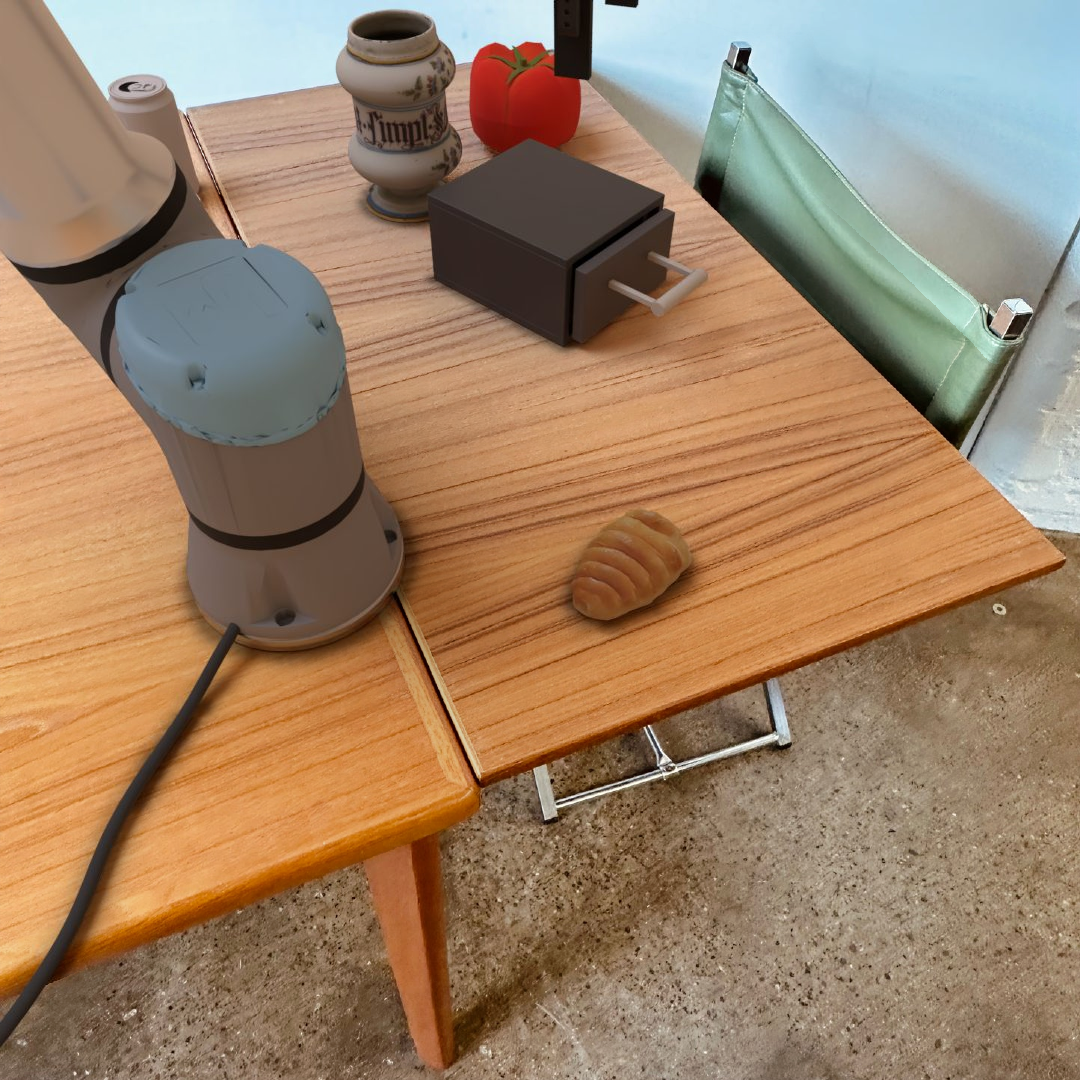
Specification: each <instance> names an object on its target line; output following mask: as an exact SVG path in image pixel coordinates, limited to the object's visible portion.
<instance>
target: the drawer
mask: <svg viewBox="0 0 1080 1080" xmlns="http://www.w3.org/2000/svg"><path fill="white" fill-rule="evenodd" d="M675 216H676V212H675V211H674V210H671V209H668V208H666V207H663V210H661V211H660V212H658V213H657V214H655V215H654V216H652V217H651V218H649V219H648V220H647V217H648V213H647V214H646V215H644V216H643V217H641V218H640V219H638V220H637V221H635V222H634V223H632V224H631V225H629V226H628V227H626V228H625V229H623V230H622V231H620V232H619V233H618V234H616V235H615V236H613V237H612V238H610V239H609V240H607V241H606V242H604V243H603V244H601V245H600V246H598V247H597V248H595V249H594V250H592V251H591V252H590V253H588V254H587V255H585V256H584V257H582V258H581V259H579V260H578V261H576V262H575V263H573V264H572V274H571V295H570V316H569V324H570V323H571V322H572V321H573V330H572V339H573V340H574V341H576V342H578V343H579V344H584V343H585V342H586V341H588V340H589V339H590V338H592V337H593V336H594V335H595V334H597V333H598V332H599V331H601V330H602V329H604V328H605V327H606V326H607V325H609V324H610V323H611V322H613V321H614V320H615V319H617V318H618V317H619V316H620V315H622V314H623V313H625V312H626V311H627V310H628V309H630V308H632V307H633V306H634V305H635V304H636V303H640V304H642V305H645V306H647V307H649V308H650V310H651V312H652V314H653V315H654V316H655V317H658V318H662V317H663V316H665V315H666V314H667V313H668V312H669V311H671V310H672V309H673V308H675V307H676V306H677V305H679V304H680V303H681V302H682V301H683V300H685V299H686V298H687V297H689V296H690V295H692V293H694V292H695V291H696V290H698V289H699V288H700V287H701V286H703V285H704V284H705V283H706V282H707V281H708V280H709V273H708V271H707V270H706V269H704V268H703V267H698V268H697V269H692V268H691V267H688V266H686V265H684V264H681V263H679V262H677V261H675V260H672V259H670V253H671V245H672V240H673V232H674V225H675V218H676V217H675ZM668 270H670V271H672V272H674V273H676V274H679V275H681V276H683V277H684V278H683V279H682V280H681V281H679V282H678V283H677V284H676V285H674V286H673V287H671V288H670V289H669V290H667V291H666V292H665V293H663V294H662V295H661V296H659V298H657V299H655V298H653V297H651V296H649V294H650V293H651V292H652V291H654V290H655V289H656V288H658V287H660V285H662V284H663V283H664V282H666V281H667V274H668Z"/></svg>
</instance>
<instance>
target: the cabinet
mask: <svg viewBox="0 0 1080 1080" xmlns="http://www.w3.org/2000/svg"><path fill="white" fill-rule="evenodd" d="M665 197H666V194H665V193H662V192H660V191H658V190H655V189H653V188H650V187H648V186H646V185H643V184H641V183H638V182H636V181H633V180H632V179H629V178H626V177H624V176H621V175H619V174H616V173H614V172H612V171H610V170H607V169H604V168H602V167H600V166H597V165H596V164H592V163H590V162H587V161H586V160H584V159H581V158H578V157H576V156H573V155H571V154H569V153H566V152H564V151H562V150H558V149H557V148H556V149H554V148H552V147H549V146H547V145H544V144H542V143H540V142H537V141H535V140H532V139H530V138H529V139H527V140H525V141H523V142H521V143H520V144H518V145H516V146H514V147H512V148H510V149H509V150H507V151H505V152H503V153H502V152H500V154H498V155H496V156H494V157H492V158H490V159H488V160H487V161H485V162H483V163H481V164H480V165H477V166H475V167H474V168H473V169H470V170H468V171H467V172H466V171H465V172H464V173H463V174H461V175H459V176H457V177H456V178H453V179H452V180H450V181H448V182H447V183H446V184H444V185H443V186H441V187H439V188H437V189H435V190H433V191H432V192H430V193H428V194H427V199H428V212H429V220H428V224H429V236H430V245H431V246H430V247H431V258H432V269H433V271H432V272H433V278H434V280H435V281H437V282H438V283H441V284H443V285H445V286H447V287H448V288H450V289H452V290H454V291H456V292H457V293H460V294H462V295H464V296H465V297H468V298H469V299H471V300H473V301H474V302H477V303H478V304H481V305H483V306H484V307H486V308H488V309H490V310H492V311H494V312H496V313H498V314H500V315H501V316H503V317H506V318H507V319H509V320H511V321H513V322H515V323H517V324H519V325H520V326H522V327H525V328H526V329H528V330H530V331H532V332H534V333H536V334H537V335H540V336H542V337H543V338H545V339H546V340H547V339H548V340H549V341H550V342H553V343H554V344H557V345H559V346H561V347H563V348H564V347H565V346H567V345H568V344H569V343H570V342H571V341H573V340H574V339H572V330H573V321H572V322H571V323H570V324H569V316H570V295H571V274H572V264H573V263H575V262H576V261H578V260H579V259H581V258H582V257H584V256H585V255H587V254H588V253H590V252H591V251H592V250H594V249H595V248H597V247H598V246H600V245H601V244H603V243H604V242H606V241H607V240H609V239H610V238H612V237H613V236H615V235H616V234H618V233H619V232H620V231H622V230H623V229H625V228H626V227H628V226H629V225H631V224H632V223H634V222H635V221H637V220H638V219H640V218H641V217H643V216H644V215H646V214H647V213H648V217H647V220H648V219H649V218H651V217H652V216H654V215H655V214H657V213H658V212H660V211H661V210H663V209H664V205H665V203H664V202H665Z"/></svg>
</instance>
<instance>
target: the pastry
mask: <svg viewBox="0 0 1080 1080" xmlns="http://www.w3.org/2000/svg"><path fill="white" fill-rule="evenodd" d="M692 562H693V555H692V552H691V551H690V549H689V544H688V543H687V541H686V540H685V539H684V538H683V535H682V532H681V530H680V528H679V527H678V526H677V525H676V524H674V523H673V522H672V521H671V520H670V519H668V518H667V517H666V516H663V515H662V514H661V513H659V512H657V511H652V510H647V509H644V508H635V509H630V510H629V509H628V510H627V511H626V512H625V514H624V515H622V516H621V517H619V518H616V519H615V520H613V521H611V522H610V523H608V524H607V525H605V526H603V527H602V528H601V529H600V531H599V532H598V534H597V535H596V536H595V537H594V538H593V539H592V540H591V541H590V542H589V543H588V545H587V547H586V549H585V550H584V552H583V554H582V557H581V559H580V561H579V563H578V566H577V572H576V573H575V577H574V578H573V579H572V581H571V591H572V605H573V607H574V609H576V610H577V611H578V612H580V614H582V615H584V616H586V617H588V618H591V619H596V620H601V621H611V620H613V619H614V620H615V619H617V618H619V617H621V616H624V615H626V614H628V613H629V612H631V611H634V610H636V609H639V608H644V607H646V606H648V605H650V604H652V603H653V602H654V600H655V599H656V598H658V597H659V596H661V595H662V594H663V593H664V592H665V591H666V590H667V589H668V588H669V587H670V586H671V585H672V584H673V583H675V582H676V581H677V580H678V578H680V576H681V574H682V573H683V572H684V571H685V570H686V569H688V568H689V567H690V566H691V564H692Z"/></svg>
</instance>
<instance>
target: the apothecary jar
mask: <svg viewBox="0 0 1080 1080" xmlns="http://www.w3.org/2000/svg"><path fill="white" fill-rule="evenodd" d="M346 33H347V34H346V36H347V39H346V44H345V45H344V46H343V48H341V50H340V52H339V53H338V55H337V58H336V60H335V74H336V77H337V80H338V82H339V84H340V86H341V87H342V88H343V90H345V92H347V93H348V94H349V95H351V99H352V104H353V106H352V107H353V113H354V119H355V128H356V129H355V130H354V132H353V133H352V135H351V136H350V138H349V141H348V145H347V155H348V160H349V163H350V164H351V167H353V169H354V170H355V171H356V173H357V174H359V175H360V176H361V178H363V179H365V180H366V181H368V182H369V183H372V185H370V187H369V189H368V193H369V194H367V196H366V197H365V200H364V201H365V204H366V207H367V209H368V211H369V212H371V213H372V214H373V215H375V216H377V217H379V218H381V219H383V220H386V221H390V222H393V223H394V222H395V223H403V224H404V223H405V224H410V223H419V222H425V221H429V212H428V199H427V194H428V193H430V192H432V191H433V190H435V189H437V188H439V187H441V186H443V185H444V184H446V183H448V182H447V181H446V180H444V179H445V178H447V177H448V176H449V175H450V174H452V173H453V172H454V170H455V169H457V167H458V166H459V164H460V162H461V159H462V155H463V142H462V138H461V136H460V134H459V133H458V131H457V130H456V129H455V127H454V126H453V125H452V124H451V123H450V122H449V115H448V106H447V94H446V89H448V87H449V86H450V85H451V84H452V83H453V81H454V78H455V76H456V72H457V64H456V63H457V62H456V59H455V56H454V54H453V52H452V51H451V49H450V48H449V47H448V45H446V43H444V42H443V41H442V40H441V39H440V38H439V36H438V33H437V25H436V23H435V21H434V19H433V18H432V17H431V16H429V15H427V14H426V13H423V12H420V11H416V10H410V9H403V8H402V9H401V8H400V9H399V8H390V9H381V10H380V9H379V10H374V11H370V12H367V13H364V14H361V15H359V16H358V17H355V18H354V19H353V20H352V21H350V23H349V25H348V27H347V32H346Z"/></svg>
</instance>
